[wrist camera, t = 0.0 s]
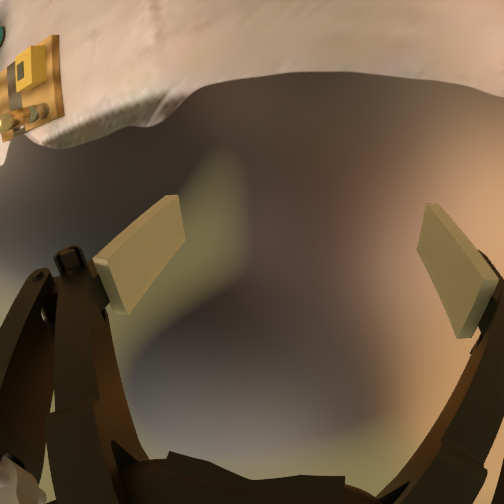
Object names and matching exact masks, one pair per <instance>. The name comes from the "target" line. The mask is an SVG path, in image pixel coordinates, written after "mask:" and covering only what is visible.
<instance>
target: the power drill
mask: <svg viewBox="0 0 504 504" xmlns="http://www.w3.org/2000/svg"><path fill="white" fill-rule="evenodd" d="M4 35H5V30H4V27H3V26H0V46H1V45H2V43H3V40H4Z"/></svg>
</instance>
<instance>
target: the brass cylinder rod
mask: <svg viewBox="0 0 504 504" xmlns="http://www.w3.org/2000/svg"><path fill="white" fill-rule="evenodd" d="M48 114H49V107H48V104H47V103H40V104H36V105H32V106H28V107H24V108H21V109H17V110H14V111H10V112H7V113H3V114H0V133H2V132H5V131H8V130H11V129H14V128H16V127H19V126H22V125H25V124H29V123H32V122H35V121H38V120H42V119H45V118H46V117H47V116H48Z"/></svg>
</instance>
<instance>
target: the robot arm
mask: <svg viewBox="0 0 504 504" xmlns="http://www.w3.org/2000/svg"><path fill="white" fill-rule="evenodd" d="M185 240H186V238H185V232H184V227H183V221H182V216H181V210H180V205H179V198H178V195H166V196H165V197H163V198H162V199H161V200H160V201H158V202H157V203H156V204H155V205H153V206H152V207H151V208H150V209H149V210H147V211H146V212H145V213H143V214H142V215H141V216H140V217H139V218H138V219H136V220H135V221H134V222H133V223H132V224H130V225H129V226H128V227H127V228H126V229H125V230H123V231H122V232H121V233H120V234H119V235H118V236H117V237H115V238H114V239H112V240H111V241H110V242H109V243H108V244H107V245H106V246H105V247H103V248H102V249H101V251H99V252H98V253H97V254H96V255H95V256H94V257H92V258H91V259H90V260H89V261H88V262H87V263H86V260H85V257H84V254H83V252H82V249H81V246H79V245H72V246H68V247H66V248H64V249H62V250H60V251H59V252H58V253H57V254H56V255H55V256H54V261H55V263H56V265H57V268H58V271H59V273H60V276H58V277H52V274H51V273H50V270H49V268H41V269H37V270H35V271H34V272H33V273H32V274H31V275H30V276H29V277H28V278H27V280H26V281H25V283H24V285H23V286H22V288H21V290H20V292H19V294H18V295H17V297H16V299H15V300H14V302H13V304H12V306H11V308H10V310H9V312H8V314H7V316H6V318H5V320H4V322H3V324H2V326H1V328H0V504H45V503H46V500H47V499H46V494H45V492H44V491H43V490H42V489H40V488H39V486H38V485H39V482H40V479H41V474H42V469H43V463H44V455H45V445H46V443H47V450H48V459H49V465H50V471H51V477H52V482H53V487H54V491H55V496H56V500H54V501H51V502H49V503H46V504H473V502H474V500H475V498H476V497H477V495H478V493H479V491H480V490H481V488H482V486H483V484H484V482H485V479H486V477H487V469H485V468H484V462H485V460H486V458H487V455H488V454H489V451H490V449H491V447H492V445H493V442H494V440H495V438H496V435H497V433H498V430H499V428H500V425H501V423H502V420H503V417H504V279H503V278H502V277H501V275H500V274H499V272H498V271H497V270H496V268H495V267H494V265H493V264H491V261H490V260H489V259H488V257H487V256H486V255H484V254H483V253H482V252H481V251H479V250H477V249H476V248H475V246H474V245H473V244H472V243H471V241H470V240H469V239H468V238H467V236H466V235H465V234H464V233H463V232H462V231H461V229H460V228H459V227H458V226H457V225H456V224H455V222H454V221H453V220H452V219H451V218H450V217H449V215H448V214H447V213H446V212H445V211H444V210H443V209H442V208H441V207H440V206H439V205H438V204H430V203H426V206H425V212H424V217H423V223H422V228H421V232H420V237H419V242H418V246H417V252H418V253H419V255H420V257H421V259H422V261H423V263H424V265H425V267H426V269H427V271H428V273H429V275H430V277H431V279H432V282H433V283H434V286H435V288H436V290H437V292H438V294H439V296H440V299H441V301H442V303H443V306H444V308H445V310H446V313H447V315H448V318H449V320H450V323H451V325H452V328H453V330H454V333H455V335H456V338H457V339H461V338H472V336H473V334H474V332H475V331H476V329H477V327H479V329H480V331H481V334H480V336H479V338H478V340H477V342H476V344H475V345H474V347H473V348H472V350H471V352H470V354H471V356H470V359H469V361H468V363H467V365H466V367H465V369H464V371H463V373H462V375H461V377H460V380H459V381H458V384H457V386H456V387H455V389H454V391H453V393H452V395H451V397H450V398H449V400H448V402H447V404H446V406H445V407H444V409H443V411H442V412H441V414H440V416H439V417H438V419H437V421H436V422H435V424H434V425H433V427H432V428H431V430H430V432H429V433H428V435H427V436H426V438H425V439H424V441H423V442H422V443H421V445H420V446H419V448H418V449H417V451H416V452H415V453H414V455H413V456H412V458H411V459H410V460H409V461H408V463H407V464H406V465H405V467H404V468H403V469H402V470H401V471H400V473H399V474H398V475H397V476H396V477H395V478H394V479H393V480H392V481H391V482H390V483H389V484H388V485H387V486H386V487H385V488H384V489H383V490H382V491H381V492H380V493H379V494H378V495H377V496H376V497H374V496H372V495H371V494H369V493H368V492H366V491H364V490H361V489H359V488H356V487H353V486H350V485H346V484H345V476H310V475H297V476H291V477H283V478H274V479H264V480H250V479H247V478H244V477H242V476H240V475H237V474H235V473H233V472H230V471H228V470H226V469H224V468H221V467H219V466H217V465H215V464H213V463H211V462H209V461H205V460H201V459H197V458H192V457H189V456H185V455H182V454H178V453H175V452H171V451H169V453H168V456H167V458H166V459H153V460H149V458H148V456H147V455H146V453H145V452H144V450H143V448H142V446H141V444H140V442H139V439H138V437H137V434H136V430H135V427H134V424H133V421H132V418H131V414H130V411H129V408H128V404H127V401H126V397H125V394H124V389H123V386H122V382H121V378H120V373H119V369H118V365H117V360H116V356H115V351H114V346H113V341H112V335H111V330H110V324H109V318H108V313H107V311H106V309H105V307H106V306H107V305H108V304H109V302H110V304H111V307H112V309H113V311H114V313H116V314H121V315H127V316H128V315H129V314H130V312H131V311H132V310H133V308H134V307H135V305H136V304H137V303H138V301H139V300H140V299H141V297H142V296H143V295H144V293H145V292H146V291H147V289H148V288H149V287H150V285H151V284H152V283H153V281H154V280H155V279H156V277H157V276H158V275H159V273H160V272H161V271H162V269H163V268H164V267H165V265H166V264H167V263H168V262H169V260H170V259H171V258H172V256H173V255H174V254H175V253H176V251H177V250H178V249H179V248H180V246H181V245H182V244H183V243H184V241H185ZM41 312H42V314H43V316H44V317H45V319H44V321H43V319H42V315H41ZM53 391H54V394H55V412H52V413H50V407H51V402H52V396H53ZM491 504H504V460H503V464H502V468H501V472H500V476H499V480H498V483H497V487H496V490H495V494H494V496H493V500H492V503H491Z"/></svg>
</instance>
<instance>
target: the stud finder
mask: <svg viewBox="0 0 504 504" xmlns="http://www.w3.org/2000/svg"><path fill="white" fill-rule="evenodd" d="M15 75H16V91H17V93H18V92H22V91H27V90H31V89H33V88H35V87H36V86H38V85H40V84H41V83H43V82H45V81H47V73H46V45H41V46H30V47H29V48H28V49H26V50H25V51H23V52H22V53H21V54H20V55H18V56H17V57H16V58H15Z"/></svg>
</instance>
